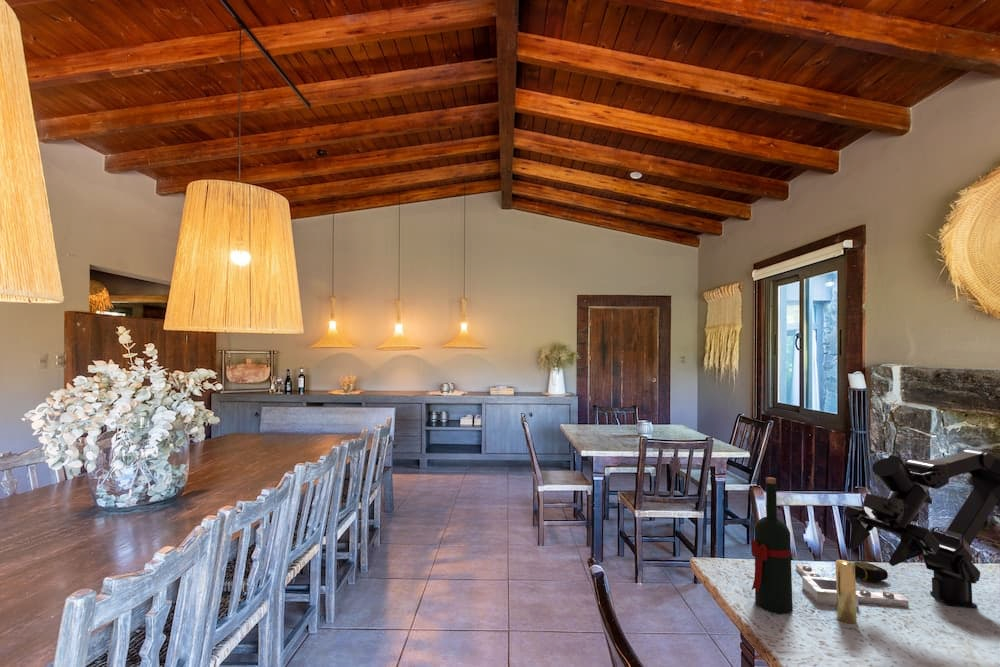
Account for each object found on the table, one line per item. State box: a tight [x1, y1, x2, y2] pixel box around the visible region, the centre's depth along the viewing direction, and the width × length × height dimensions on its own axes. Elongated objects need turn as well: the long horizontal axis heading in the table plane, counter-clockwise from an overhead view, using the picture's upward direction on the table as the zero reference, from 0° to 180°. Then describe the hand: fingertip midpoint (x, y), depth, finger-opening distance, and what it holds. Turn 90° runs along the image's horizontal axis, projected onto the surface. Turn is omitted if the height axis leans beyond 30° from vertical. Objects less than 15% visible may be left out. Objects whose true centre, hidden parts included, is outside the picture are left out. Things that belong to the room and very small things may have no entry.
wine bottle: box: [750, 476, 794, 615], centre depth 119 cm, size 8×10×30 cm
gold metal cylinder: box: [835, 559, 858, 625], centre depth 113 cm, size 4×4×12 cm
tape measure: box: [853, 560, 889, 583], centre depth 134 cm, size 7×7×4 cm
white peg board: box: [795, 563, 910, 609], centre depth 128 cm, size 21×21×3 cm
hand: (870, 556), depth 115 cm, fingers open, 9 cm apart
